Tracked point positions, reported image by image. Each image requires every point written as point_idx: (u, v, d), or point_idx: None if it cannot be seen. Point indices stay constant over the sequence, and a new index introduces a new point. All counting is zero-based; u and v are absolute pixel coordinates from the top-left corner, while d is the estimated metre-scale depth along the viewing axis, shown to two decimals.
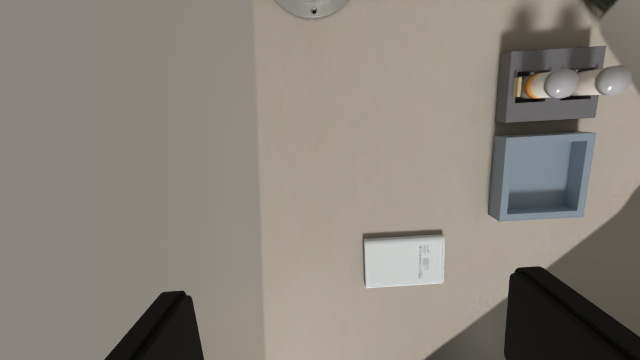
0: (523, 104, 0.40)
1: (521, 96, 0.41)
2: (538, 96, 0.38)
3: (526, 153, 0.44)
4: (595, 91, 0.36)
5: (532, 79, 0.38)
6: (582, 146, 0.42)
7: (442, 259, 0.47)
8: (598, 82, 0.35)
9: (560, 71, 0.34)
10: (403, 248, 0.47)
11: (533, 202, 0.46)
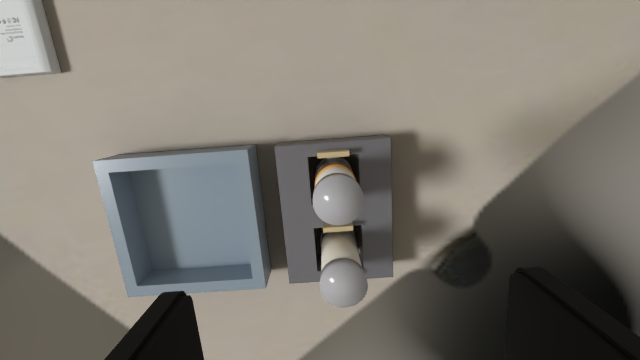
0: (305, 171, 0.24)
1: (318, 168, 0.24)
2: (316, 180, 0.22)
3: (230, 198, 0.27)
4: (325, 263, 0.21)
5: (346, 168, 0.22)
6: (245, 275, 0.26)
7: (1, 71, 0.24)
8: (340, 261, 0.20)
9: (359, 190, 0.19)
10: None
11: (149, 224, 0.27)
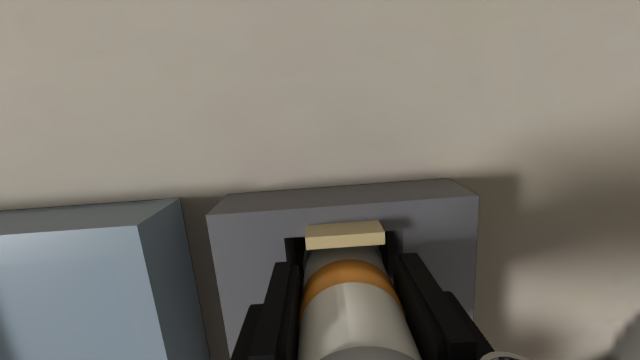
0: None
1: (310, 259, 0.11)
2: (303, 322, 0.08)
3: None
4: None
5: (379, 283, 0.09)
6: None
7: None
8: None
9: None
10: None
11: None
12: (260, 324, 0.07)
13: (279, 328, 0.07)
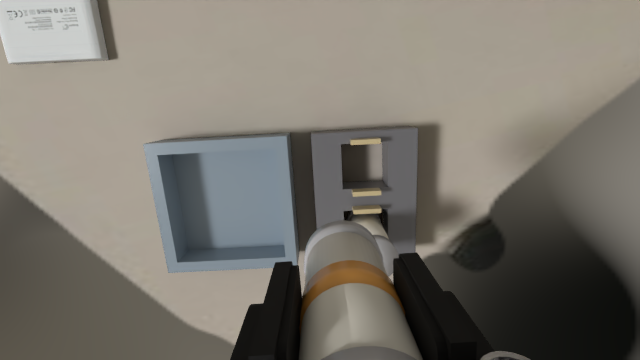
0: (338, 158, 0.26)
1: (311, 261, 0.11)
2: (304, 323, 0.08)
3: (264, 183, 0.29)
4: None
5: (380, 284, 0.09)
6: (277, 254, 0.28)
7: (55, 56, 0.26)
8: (374, 237, 0.22)
9: None
10: None
11: (188, 206, 0.29)
12: (260, 324, 0.07)
13: (279, 328, 0.07)
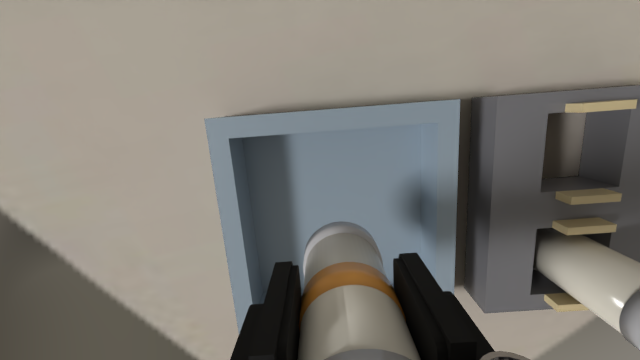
0: (540, 138, 0.15)
1: (311, 262, 0.11)
2: (303, 325, 0.08)
3: (391, 184, 0.18)
4: (623, 288, 0.12)
5: (379, 285, 0.09)
6: None
7: None
8: None
9: None
10: None
11: (265, 223, 0.18)
12: (260, 324, 0.07)
13: (279, 328, 0.07)
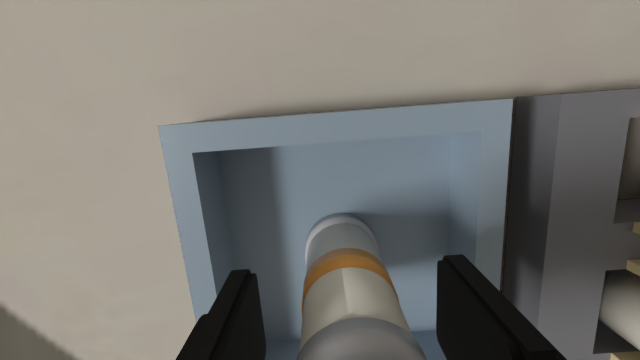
0: (617, 151, 0.11)
1: (312, 249, 0.12)
2: (306, 302, 0.09)
3: (410, 209, 0.14)
4: None
5: (374, 268, 0.10)
6: None
7: None
8: None
9: None
10: None
11: (248, 258, 0.14)
12: (197, 338, 0.06)
13: (215, 343, 0.06)
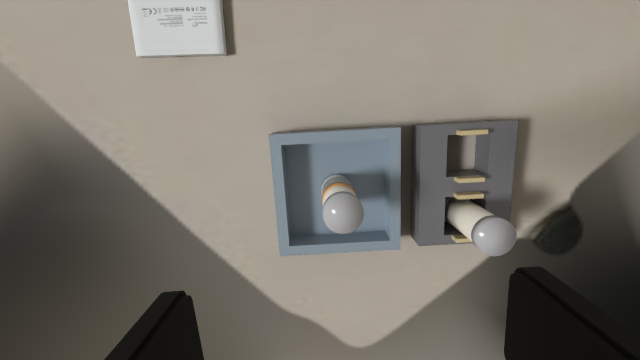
0: (444, 147, 0.28)
1: (325, 185, 0.29)
2: (324, 196, 0.26)
3: (367, 172, 0.31)
4: (474, 221, 0.26)
5: (348, 187, 0.27)
6: (380, 238, 0.31)
7: (182, 51, 0.28)
8: (493, 217, 0.25)
9: (360, 206, 0.23)
10: None
11: (294, 194, 0.31)
12: None
13: None
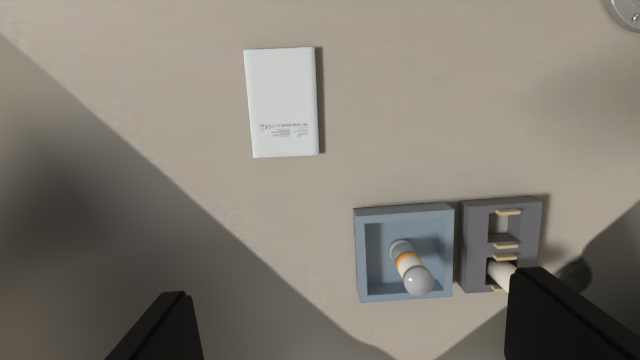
0: (486, 222, 0.38)
1: (395, 251, 0.39)
2: (400, 264, 0.36)
3: (425, 237, 0.40)
4: None
5: (417, 256, 0.36)
6: (436, 288, 0.40)
7: (287, 154, 0.37)
8: None
9: (431, 277, 0.33)
10: (303, 101, 0.36)
11: (368, 254, 0.41)
12: None
13: None
